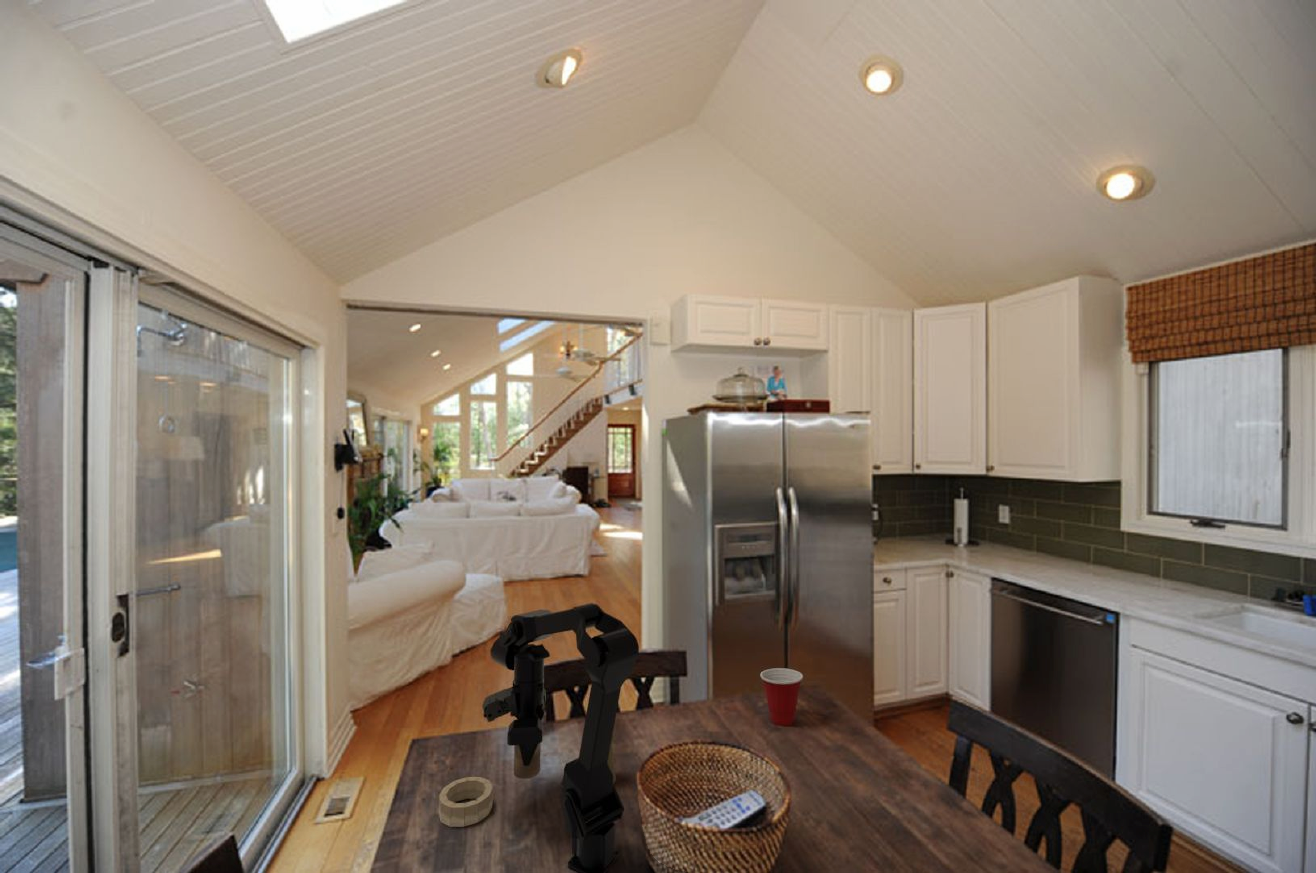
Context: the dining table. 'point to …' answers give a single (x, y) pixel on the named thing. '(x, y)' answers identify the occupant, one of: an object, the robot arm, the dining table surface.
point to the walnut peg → (523, 770)
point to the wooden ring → (469, 811)
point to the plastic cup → (781, 694)
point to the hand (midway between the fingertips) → (527, 757)
